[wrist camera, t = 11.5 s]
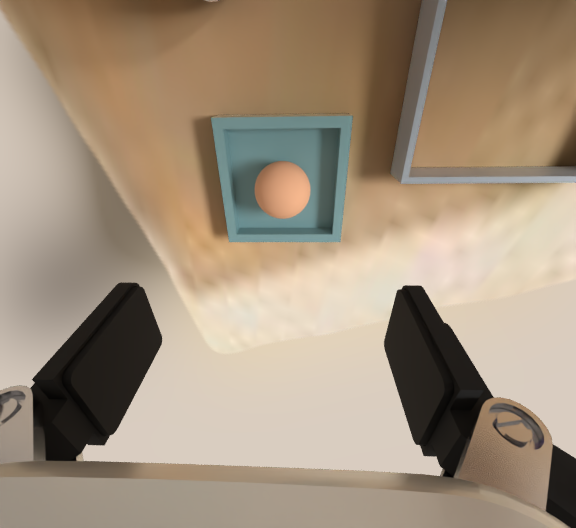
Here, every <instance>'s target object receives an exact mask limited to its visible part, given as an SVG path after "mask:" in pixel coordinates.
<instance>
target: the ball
mask: <svg viewBox="0 0 576 528" xmlns="http://www.w3.org/2000/svg"><path fill="white" fill-rule="evenodd" d="M310 191H311V190H310V182H309V179H308V177H307V175H306V174H305V172H304V171H303V170H302V169H301V168H300V167H299V166H297V165H296V164H294V163H291V162H288V161H277V162H274V163H271V164H269V165H267V166H266V167H265V168H264V169H263V170H262V171H261V172H260V173H259V175H258V177H257V179H256V183H255V197H256V200H257V203H258V204H259V206H260V207H261V209H262V210H263V211H264V212H265V213H267V214H268V215H270V216H272V217H275V218H279V219H286V218H291V217H293V216H296V215H297V214H299V213H300V212H301V211H302V210H303V209H304V208H305V206H306V205H307V203H308V201H309V198H310Z"/></svg>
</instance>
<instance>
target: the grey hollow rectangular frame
mask: <svg viewBox="0 0 576 528" xmlns="http://www.w3.org/2000/svg"><path fill="white" fill-rule="evenodd" d="M446 4H447V0H422V2H421V8H420V13H419V19H418V24H417V30H416V35H415V41H414V46H413V52H412V57H411V63H410V68H409V74H408V79H407V85H406V90H405V95H404V101H403V106H402V112H401V117H400V123H399V128H398V134H397V139H396V145H395V150H394V156H393V161H392V167H391V172H390V174H391V175H392V176H393V177H394V178H395V179H396V180H397V181H398V182H400V183H401V184H432V183H576V166H549V167H423V168H411V163H412V159H413V154H414V150H415V145H416V141H417V136H418V131H419V127H420V122H421V118H422V113H423V109H424V104H425V100H426V95H427V90H428V86H429V81H430V77H431V72H432V68H433V63H434V59H435V54H436V49H437V45H438V40H439V36H440V31H441V27H442V22H443V18H444V13H445V8H446Z"/></svg>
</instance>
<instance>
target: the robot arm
mask: <svg viewBox="0 0 576 528" xmlns="http://www.w3.org/2000/svg"><path fill="white" fill-rule="evenodd" d="M161 344H162V336H161V333H160V330H159V328H158V325H157V322H156V320H155V317H154V315H153V312H152V309H151V307H150V304H149V301H148V299H147V296H146V293H145V291H144V289H143V288H142V287H140V286H139V284H137V283H119V284H117V285H116V286H115V288H114V289H113V290H112V291H111V292H110V293H109V294H108V295H107V296H106V298H105V299H104V300H103V301H102V302H101V303H100V304H99V305H98V306H97V307H96V309H95V310H94V311H93V312H92V313H91V314H90V315H89V316H88V318H87V319H86V320H85V321H84V322H83V323H82V324H81V326H79V328H78V329H77V330H76V331H75V332H74V333H73V334H72V335H71V337H70V338H69V339H68V340H67V341H66V342H65V343H64V344H63V345H62V347H61V348H60V349H59V350H58V351H57V352H56V353H55V355H53V357H52V358H51V359H50V360H49V361H48V362H47V363H46V364H45V366H44V367H43V368H42V369H41V370H40V371H39V372H38V373H37V375H36V376H35V377H34V378H33V379H32V380H33V381H34V382H35V383H34V385H33V386H32V387H31V388H28V387H27V386H20V385H19V386H13V387H9V388H6V389H3V390H0V528H576V459H575V458H574V457H572V456H571V455H569V454H567V453H566V452H564V451H563V450H561V449H560V448H558V447H556V446H555V445H553V444H552V438H551V435H550V433H549V431H548V429H547V428H546V426H545V425H544V424H543V422H542V421H541V420H540V419H539V418H538V417H537V416H536V415H535V414H534V413H533V412H531V411H530V410H529V409H527V408H526V407H524V406H523V405H521V404H519V403H517V402H514V401H512V400H510V399H505V398H494V397H493V396H492V394H491V392H490V391H489V389H488V388H487V386H486V384H485V383H484V381H483V379H482V378H481V377H480V375H479V373H478V371H477V370H476V368H475V366H474V365H473V363H472V361H471V360H470V358H469V356H468V355H467V353H466V352H465V350H464V348H463V347H462V345H461V343H460V342H459V340H458V338H457V337H456V335H455V334H454V332H453V330H452V329H451V327H450V326H449V325H448V324H446V323H444V322H443V321H442V319H441V317H440V316H439V314H438V313H437V311H436V309H435V307H434V305H433V304H432V302H431V300H430V299H429V297H428V295H427V294H426V292H425V290H424V289H423V287H422V286H403V288H402V290H398V291H397V293H396V297H395V301H394V305H393V309H392V313H391V317H390V321H389V325H388V328H387V333H386V336H385V341H384V347H385V352H386V355H387V358H388V361H389V364H390V368H391V370H392V374H393V377H394V380H395V383H396V386H397V390H398V393H399V396H400V399H401V402H402V405H403V408H404V411H405V415H406V418H407V421H408V424H409V428H410V431H411V434H412V437H413V440H414V442H415V444H416V445H420V446H421V449H422V452H423V455H424V456H437V459H438V462H439V465H440V466H441V467H442V468H443V469H442V472H441V475H440V476H432V475H424V474H407V473H390V472H374V471H353V470H329V469H304V468H279V467H278V468H277V467H251V466H250V467H249V466H224V465H195V464H165V463H130V462H99V461H83V455H82V451H83V449H84V447H85V446H86V444H88V445H105V443H106V442H107V440H108V438H109V436H110V435H112V434H114V433H115V431H116V430H117V428H118V426H119V425H120V423H121V420H122V419H123V417H124V415H125V413H126V411H127V409H128V407H129V405H130V404H131V402H132V400H133V398H134V396H135V394H136V392H137V390H138V388H139V386H140V385H141V383H142V381H143V379H144V377H145V375H146V373H147V371H148V369H149V367H150V365H151V364H152V362H153V360H154V358H155V356H156V354H157V352H158V350H159V348H160V346H161Z"/></svg>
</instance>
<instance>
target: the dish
mask: <svg viewBox="0 0 576 528" xmlns="http://www.w3.org/2000/svg"><path fill="white" fill-rule="evenodd" d="M352 120H353V116H352V115H351V114H349V113H327V114H255V115H216V116H214V117H211V122H212V128H213V135H214V142H215V149H216V156H217V162H218V169H219V176H220V183H221V190H222V196H223V203H224V210H225V217H226V224H227V230H228V237H229V242H340V240H341V230H342V220H343V210H344V200H345V190H346V180H347V170H348V160H349V150H350V140H351V130H352ZM277 161H288V162H291V163H294V164H296V165H297V166H299V167H300V168H301V169H302V170H303V171H304V172H305V174H306V175H307V177H308V179H309V182H310V190H311V191H310V198H309V201H308V203H307V205H306V206H305V208H304V209H303V210H302V211H301V212H300V213H299V214H297V215H296V216H293V217H291V218H286V219H279V218H275V217H272V216H270V215H268V214H267V213H265V212H264V211H263V210H262V209H261V207H260V206H259V204H258V203H257V200H256V197H255V183H256V179H257V177H258V175H259V173H260V172H261V171H262V170H263V169H264V168H265V167H266V166H267V165H269V164H271V163H274V162H277Z"/></svg>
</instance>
